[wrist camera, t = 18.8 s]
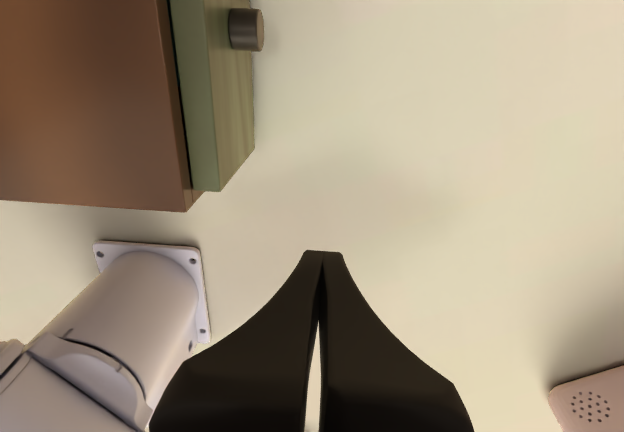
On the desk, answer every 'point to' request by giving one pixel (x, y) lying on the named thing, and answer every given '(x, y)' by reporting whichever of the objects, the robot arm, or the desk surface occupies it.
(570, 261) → the desk surface
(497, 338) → the desk surface
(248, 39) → the drawer
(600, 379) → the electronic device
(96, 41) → the cabinet
